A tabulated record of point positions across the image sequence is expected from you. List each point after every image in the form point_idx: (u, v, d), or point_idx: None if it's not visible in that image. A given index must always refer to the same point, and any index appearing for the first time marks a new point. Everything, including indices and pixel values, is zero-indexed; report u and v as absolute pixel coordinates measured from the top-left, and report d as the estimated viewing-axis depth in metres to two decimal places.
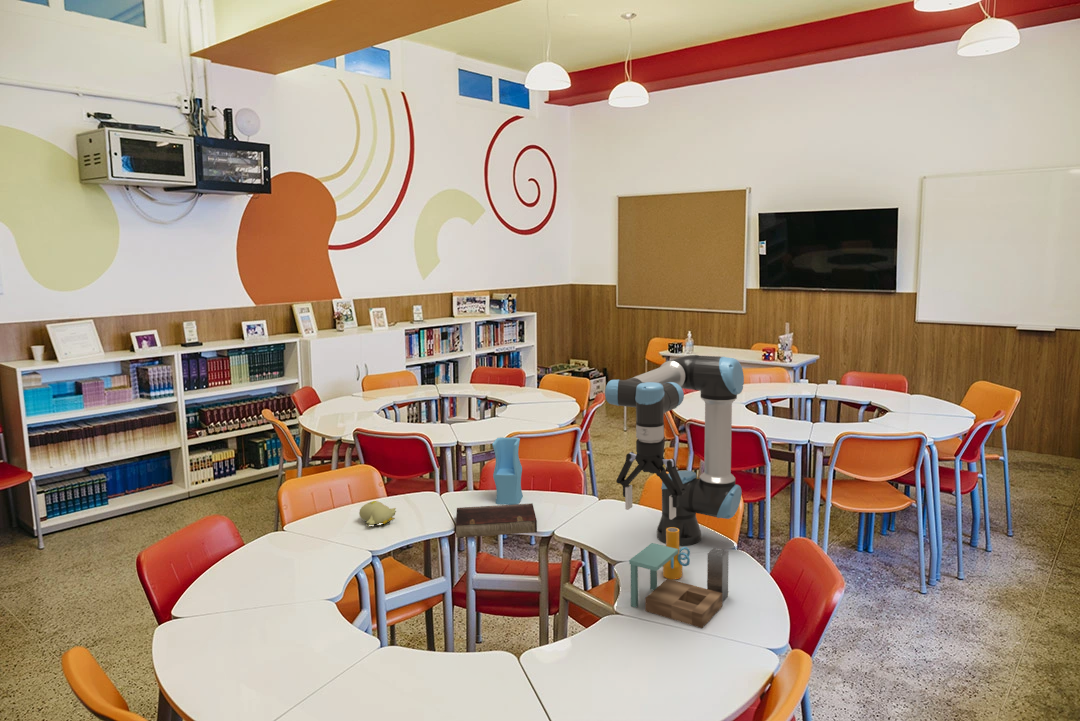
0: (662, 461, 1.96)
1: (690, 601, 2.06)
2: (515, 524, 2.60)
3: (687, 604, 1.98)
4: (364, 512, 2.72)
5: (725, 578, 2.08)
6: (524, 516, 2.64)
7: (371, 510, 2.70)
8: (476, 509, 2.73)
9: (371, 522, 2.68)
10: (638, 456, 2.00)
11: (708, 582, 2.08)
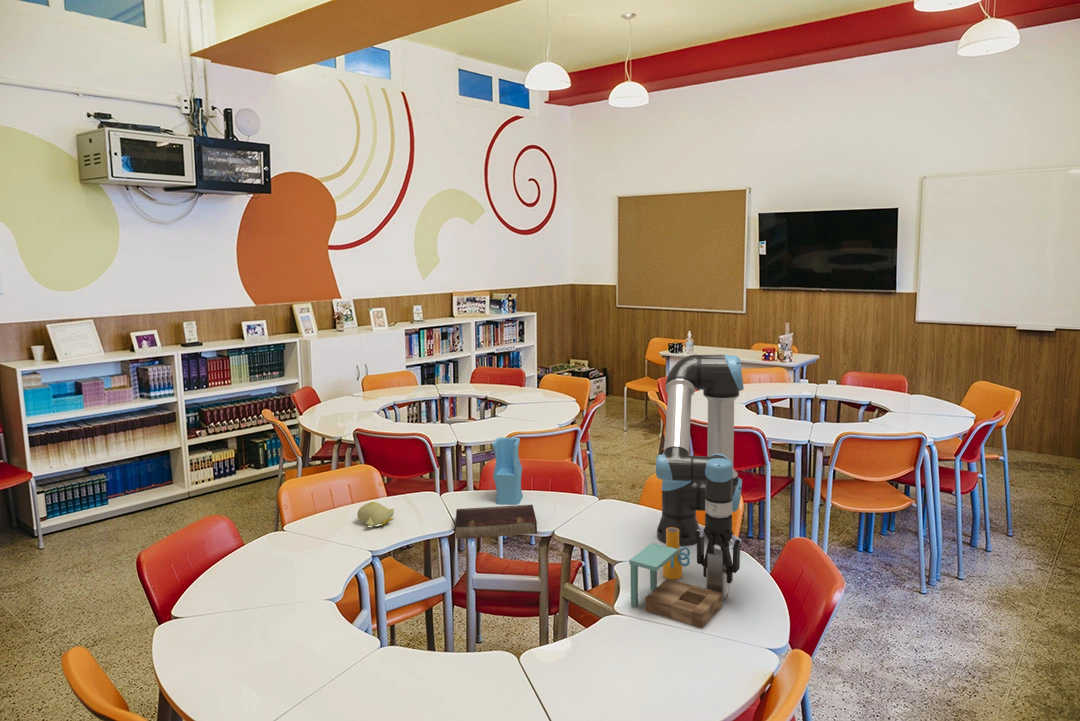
0: (731, 537, 2.03)
1: (690, 601, 2.06)
2: (515, 526, 2.58)
3: (687, 604, 1.98)
4: (362, 513, 2.71)
5: None
6: (524, 518, 2.63)
7: (370, 511, 2.70)
8: (476, 510, 2.72)
9: (370, 523, 2.67)
10: (705, 529, 2.07)
11: (708, 582, 2.08)
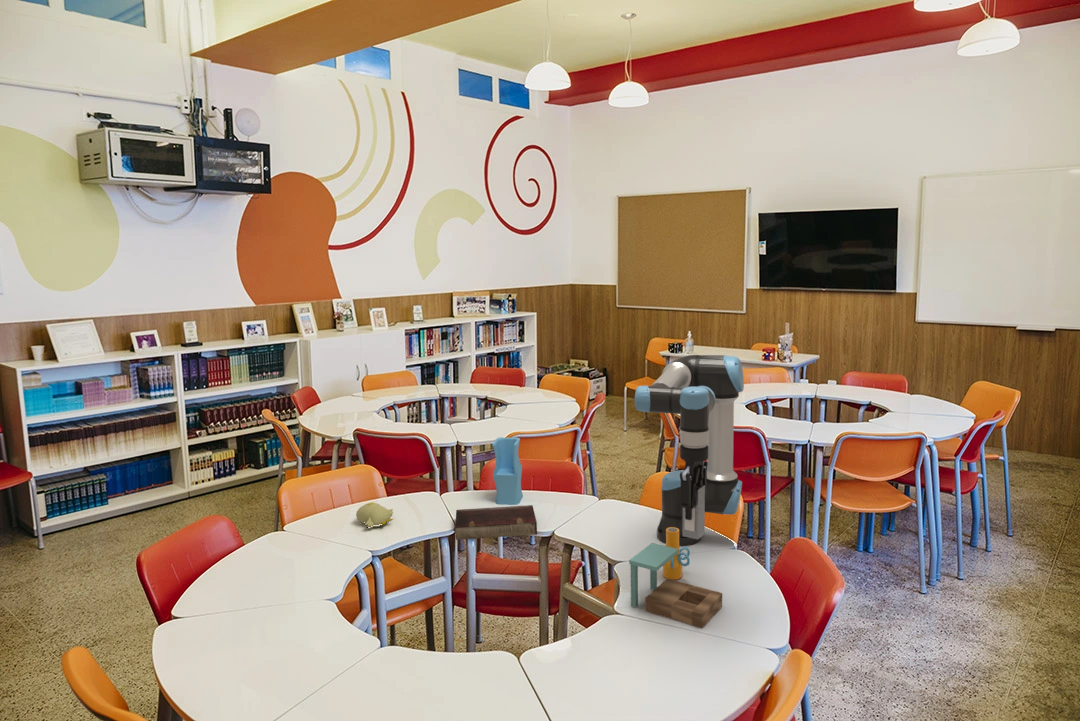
0: (685, 469, 1.93)
1: (690, 601, 2.06)
2: (514, 526, 2.58)
3: (687, 604, 1.98)
4: (362, 514, 2.70)
5: None
6: (524, 518, 2.62)
7: (369, 512, 2.69)
8: (476, 511, 2.72)
9: (370, 524, 2.66)
10: None
11: None
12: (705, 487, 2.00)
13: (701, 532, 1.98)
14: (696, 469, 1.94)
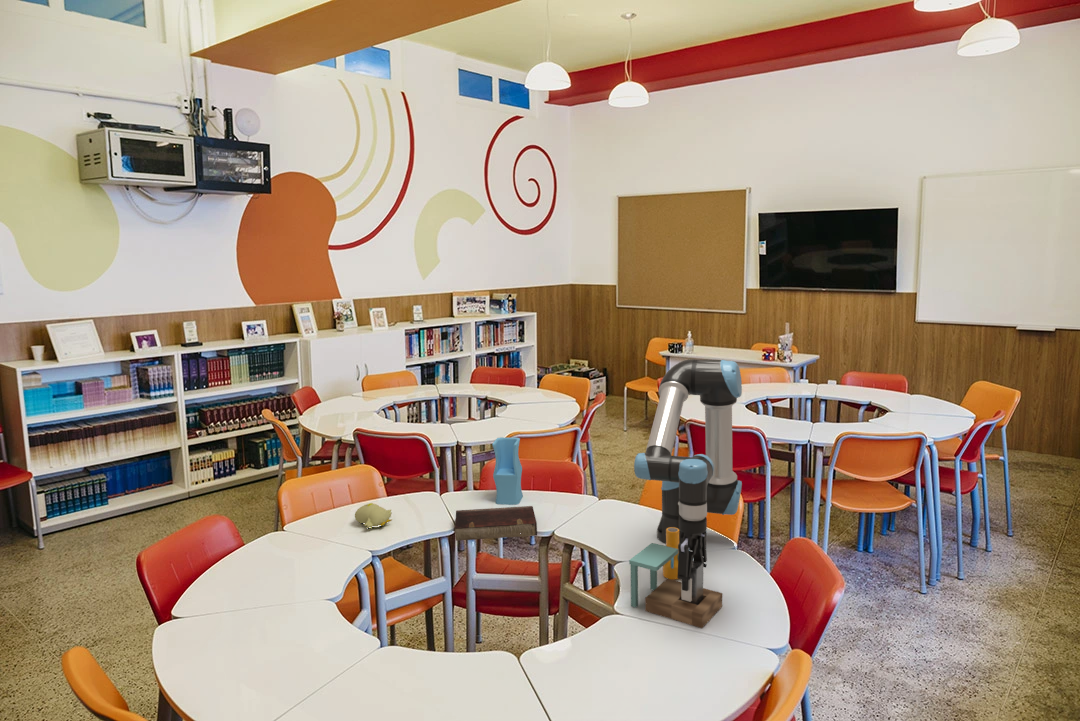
0: (683, 541, 1.96)
1: None
2: (514, 527, 2.57)
3: (687, 604, 1.98)
4: (360, 515, 2.69)
5: None
6: (524, 519, 2.61)
7: (368, 512, 2.68)
8: (476, 512, 2.71)
9: (369, 524, 2.65)
10: None
11: None
12: (705, 553, 2.04)
13: None
14: (695, 540, 1.97)
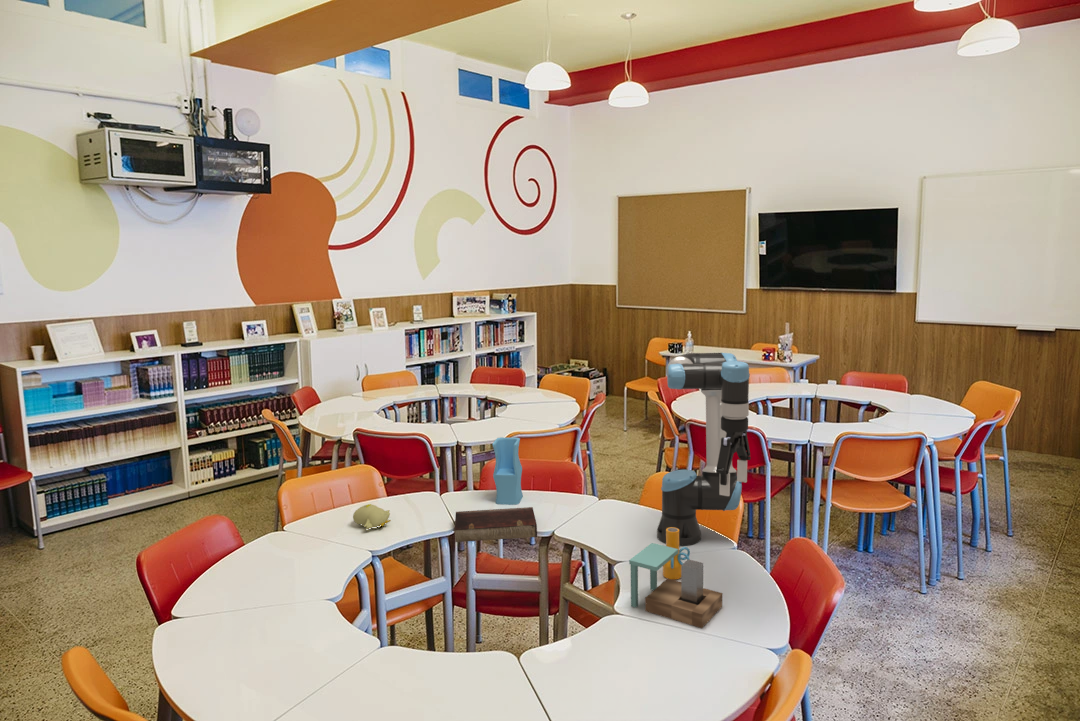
0: (726, 438, 2.03)
1: None
2: (514, 529, 2.56)
3: (687, 604, 1.98)
4: (359, 516, 2.68)
5: (690, 593, 1.99)
6: (524, 521, 2.60)
7: (367, 513, 2.67)
8: (475, 513, 2.69)
9: (369, 525, 2.64)
10: None
11: None
12: (748, 449, 2.13)
13: None
14: (737, 438, 2.03)
